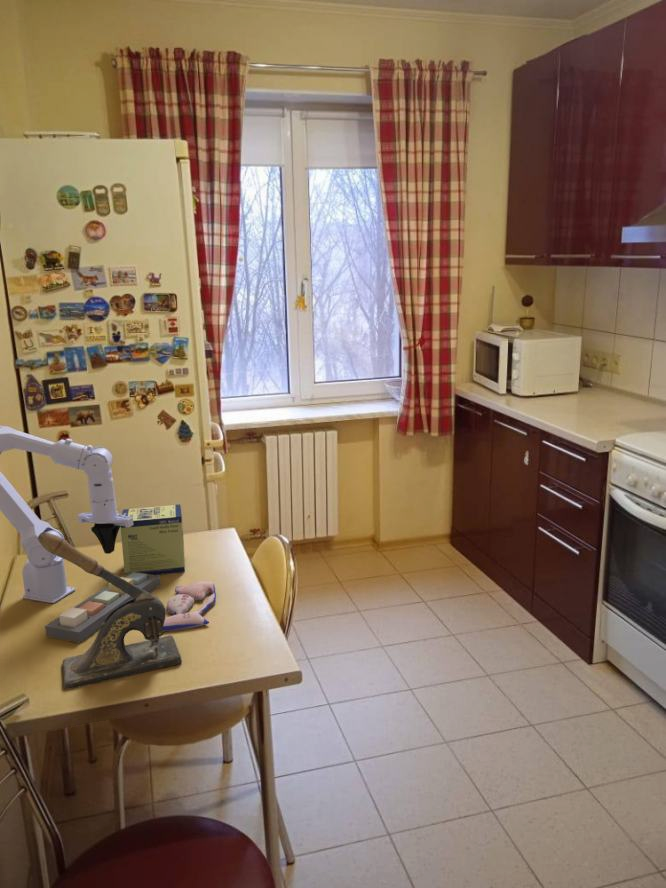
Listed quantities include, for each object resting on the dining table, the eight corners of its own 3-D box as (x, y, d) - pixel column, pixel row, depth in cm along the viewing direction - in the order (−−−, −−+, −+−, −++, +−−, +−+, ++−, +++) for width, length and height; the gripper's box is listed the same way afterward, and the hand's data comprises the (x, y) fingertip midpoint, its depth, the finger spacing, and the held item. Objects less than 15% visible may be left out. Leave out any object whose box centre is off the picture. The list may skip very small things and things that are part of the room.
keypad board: (46, 636, 151) (44, 626, 150) (130, 580, 178) (129, 571, 178) (80, 643, 148) (79, 632, 147) (160, 584, 175) (159, 575, 175)
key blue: (124, 589, 172) (123, 578, 171) (134, 583, 176) (133, 572, 175) (138, 592, 171) (137, 580, 170) (147, 585, 174) (146, 574, 174)
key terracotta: (78, 621, 157) (77, 608, 156) (90, 613, 160) (89, 601, 160) (93, 623, 155) (91, 611, 155) (104, 615, 159) (103, 603, 158)
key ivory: (60, 628, 151) (59, 615, 151) (73, 619, 155) (71, 607, 154) (75, 630, 150) (74, 618, 149) (88, 622, 154) (86, 609, 153)
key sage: (94, 610, 162) (93, 598, 161) (105, 602, 166) (104, 590, 165) (109, 612, 161) (108, 600, 160) (120, 604, 164) (118, 593, 163)
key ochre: (109, 595, 167) (108, 583, 166) (120, 588, 170) (119, 576, 170) (123, 597, 165) (122, 585, 165) (134, 590, 169) (132, 578, 168)
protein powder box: (186, 572, 183) (181, 515, 179) (124, 579, 179) (118, 521, 176) (185, 557, 193) (181, 503, 189) (126, 563, 189) (121, 509, 186)
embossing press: (183, 667, 138) (171, 524, 131) (55, 692, 131) (35, 541, 124) (176, 641, 148) (165, 506, 141) (57, 662, 141) (39, 522, 134)
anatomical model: (150, 636, 151) (220, 627, 155) (149, 624, 151) (219, 616, 154) (152, 595, 171) (214, 588, 174) (151, 584, 170) (213, 577, 173)
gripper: (138, 495, 168) (144, 548, 171) (89, 491, 173) (95, 543, 176) (120, 505, 161) (126, 559, 164) (69, 500, 166) (76, 553, 169)
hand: (109, 552), depth 170 cm, fingers closed
